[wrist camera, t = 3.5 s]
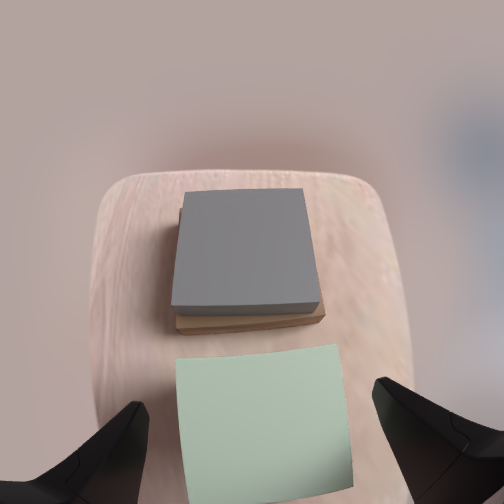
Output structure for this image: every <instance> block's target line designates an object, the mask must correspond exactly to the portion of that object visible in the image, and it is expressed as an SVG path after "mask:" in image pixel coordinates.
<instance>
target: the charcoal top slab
mask: <svg viewBox="0 0 504 504" xmlns="http://www.w3.org/2000/svg"><path fill="white" fill-rule="evenodd" d="M320 302H321V300H320V292H319V284H318V277H317V270H316V263H315V257H314V250H313V244H312V238H311V232H310V226H309V220H308V215H307V209H306V204H305V199H304V193H303V189H236V190H213V191H195V192H185V196H184V202H183V208H182V215H181V221H180V228H179V236H178V243H177V251H176V259H175V268H174V278H173V288H172V299H171V306H172V307H173V308H174V310H175V311H176V312H177V313H178V314H179V315H180V316H256V315H281V314H300V313H314V311H315V310H316V308H317V307H318V305H319V303H320Z"/></svg>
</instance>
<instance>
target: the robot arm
mask: <svg viewBox="0 0 504 504" xmlns="http://www.w3.org/2000/svg"><path fill="white" fill-rule="evenodd" d="M372 398H373V402H374V405H375V408H376V411H377V414H378V417H379V420H380V423H381V426H382V429H383V431H384V433H385V436H386V438H387V440H388V442H389V444H390V447H391V449H392V451H393V453H394V456H395V458H396V460H397V463H398V465H399V467H400V470H401V472H402V474H403V477H404V479H405V481H406V484H407V486H408V489H409V491H410V493H411V496H412V498H413V500H414V504H504V431H499V430H495V429H492V428H489V427H486V426H483V425H480V424H477V423H475V422H472V421H470V420H467V419H465V418H463V417H461V416H459V415H456V414H454V413H453V412H450V411H449V410H447V409H445V408H443V407H441V406H439V405H437V404H435V403H433V402H432V401H430V400H428V399H426V398H424V397H422V396H420V395H419V394H417V393H415V392H413V391H411V390H409V389H408V388H406V387H404V386H402V385H400V384H399V383H397V382H395V381H393V380H391V379H390V378H388V377H381V378H378V379H376V381H375V384H374V387H373V391H372ZM148 429H149V414H148V412H147V410H146V408H145V406H144V404H143V403H142V402H141V401H132V402H130V403H129V404H128V405H127V406H126V407H125V408H124V409H122V410H121V411H120V412H119V413H118V414H117V415H116V416H115V417H113V418H112V419H111V420H110V421H109V422H108V423H107V424H106V425H104V426H103V427H102V428H101V429H100V430H99V431H98V432H97V433H96V434H94V435H93V436H92V437H91V438H90V439H89V440H87V441H86V442H85V443H84V444H83V445H82V446H81V447H79V448H78V450H76V451H75V452H73V453H72V454H71V455H70V456H68V457H67V458H66V459H65V460H64V461H62V462H61V463H59V464H58V465H56V466H55V467H54V468H52V469H50V470H49V471H47V472H46V473H44V474H42V475H41V476H39V477H37V478H36V479H34V480H31V481H26V482H17V481H16V482H14V481H0V504H137V502H138V496H139V490H140V484H141V478H142V473H143V468H144V463H145V458H146V452H147V442H148Z"/></svg>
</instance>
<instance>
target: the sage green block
mask: <svg viewBox="0 0 504 504" xmlns="http://www.w3.org/2000/svg"><path fill="white" fill-rule="evenodd" d="M175 372H176V392H177V407H178V419H179V431H180V441H181V450H182V458H183V466H184V473H185V480H186V487H187V493H188V499H189V504H264V503H274V502H282V501H290V500H296V499H302V498H308V497H313V496H318V495H322V494H327V493H331V492H335V491H339V490H343V489H347V488H350V487H353V470H352V456H351V444H350V433H349V424H348V415H347V406H346V398H345V391H344V384H343V377H342V370H341V363H340V357H339V351H338V345H337V343H336V344H330V345H324V346H317V347H311V348H304V349H297V350H289V351H281V352H272V353H263V354H253V355H241V356H227V357H209V358H175Z"/></svg>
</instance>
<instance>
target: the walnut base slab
mask: <svg viewBox="0 0 504 504" xmlns="http://www.w3.org/2000/svg"><path fill="white" fill-rule="evenodd" d="M181 215H182V208H180V212H179V227H178V236H179V228H180V221H181ZM317 277H318V275H317ZM318 284H319V279H318ZM319 292H320V300H321V302H320V303H319V305H318V307H317V308H316V310H315V311H314V313H300V314H281V315H256V316H180V315H179V314H178V313H177V312H176V329H177V330H178V331H179V332H180V333H181V334H182V335H201V334H218V333H232V332H244V331H255V330H265V329H274V328H283V327H292V326H299V325H307V324H314V323H319V322H320V321H321V320H322V318H323V317H324V316H325V315H326V314H325V309H324V304H323V299H322V294H321V289H320V284H319Z"/></svg>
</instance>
